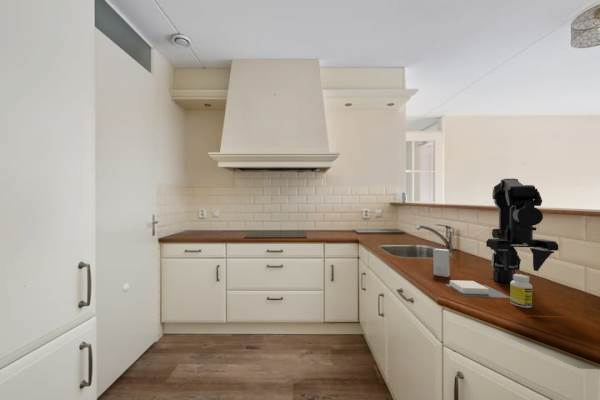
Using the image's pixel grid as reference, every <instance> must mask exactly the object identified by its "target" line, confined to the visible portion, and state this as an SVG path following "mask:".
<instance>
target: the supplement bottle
mask: <svg viewBox="0 0 600 400" xmlns="http://www.w3.org/2000/svg"><path fill="white" fill-rule="evenodd" d="M513 279H514V280H513V281H511V283H510V284H509V285H510V287H509V289H510V290H509V292H510V293H509V295H510V296H509V297H510V298H509V300H510V301H509V302H510V304H512V305H514V306H515V307H516V306H518V307H521V308H532V307H533V285H532V284H531V283H530V276H529V275H524V274H521V273H515V274H514V275H513Z"/></svg>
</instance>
